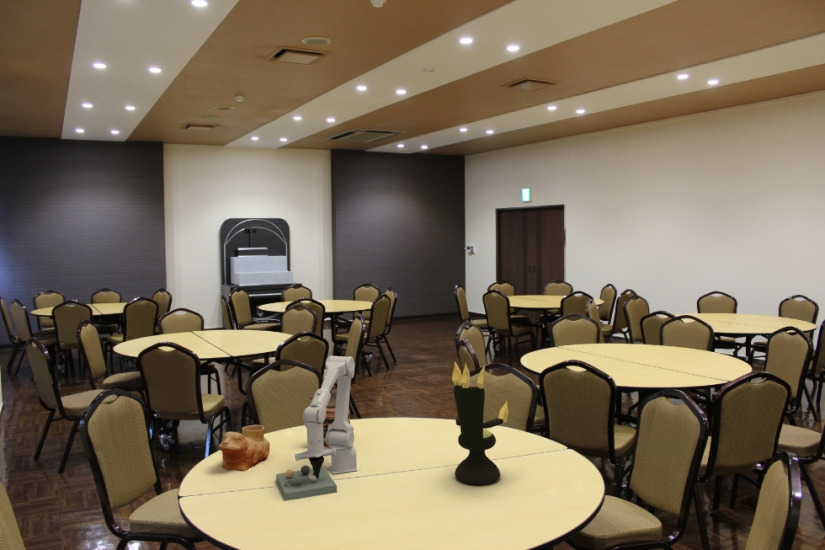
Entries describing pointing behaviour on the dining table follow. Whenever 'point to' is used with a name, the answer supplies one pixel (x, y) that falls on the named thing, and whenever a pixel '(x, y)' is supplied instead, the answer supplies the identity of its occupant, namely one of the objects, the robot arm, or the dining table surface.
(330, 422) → the beer stein
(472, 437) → the candelabra
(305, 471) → the black ball
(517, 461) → the dining table surface
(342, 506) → the dining table surface
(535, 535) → the dining table surface
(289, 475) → the terracotta ball
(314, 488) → the plate
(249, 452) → the ceramic vessel
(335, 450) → the robot arm
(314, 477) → the steel ball
